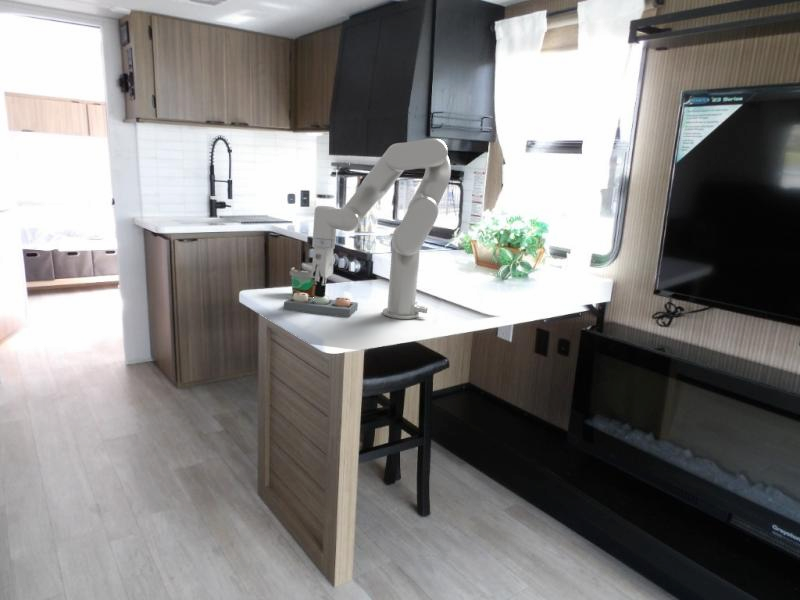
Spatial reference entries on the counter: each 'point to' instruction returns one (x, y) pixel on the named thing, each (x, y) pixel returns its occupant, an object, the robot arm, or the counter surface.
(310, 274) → the food container
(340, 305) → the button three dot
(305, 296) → the button two dot
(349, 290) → the counter surface
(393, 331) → the counter surface
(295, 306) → the gray rectangular tray
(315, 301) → the button one dot
